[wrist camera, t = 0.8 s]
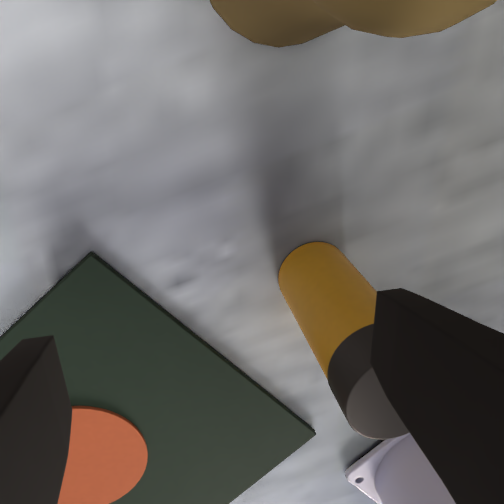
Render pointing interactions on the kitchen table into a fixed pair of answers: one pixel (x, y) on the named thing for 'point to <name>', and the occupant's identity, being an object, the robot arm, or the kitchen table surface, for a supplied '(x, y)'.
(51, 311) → the mat
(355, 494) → the kitchen table surface
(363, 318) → the glue stick
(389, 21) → the olive pawn
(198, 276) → the kitchen table surface
